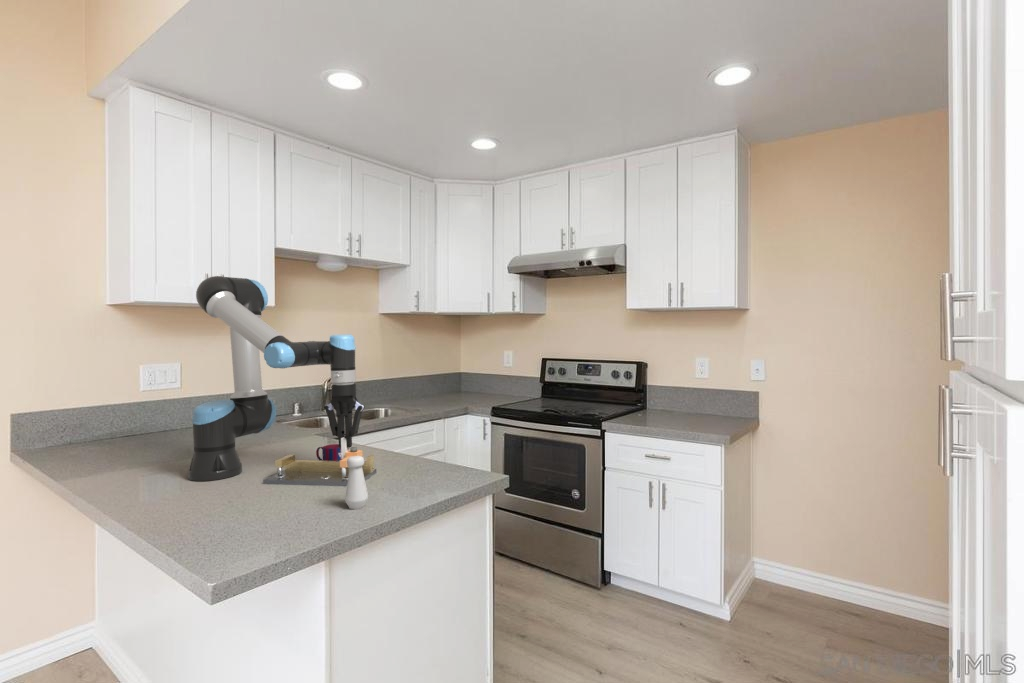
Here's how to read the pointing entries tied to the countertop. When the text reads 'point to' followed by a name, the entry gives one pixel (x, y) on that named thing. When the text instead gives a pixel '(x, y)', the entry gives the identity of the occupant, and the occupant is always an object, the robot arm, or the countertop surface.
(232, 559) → the countertop surface
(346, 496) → the salt shaker
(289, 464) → the brass l-shaped beam
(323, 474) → the plate
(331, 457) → the mug
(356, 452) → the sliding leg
